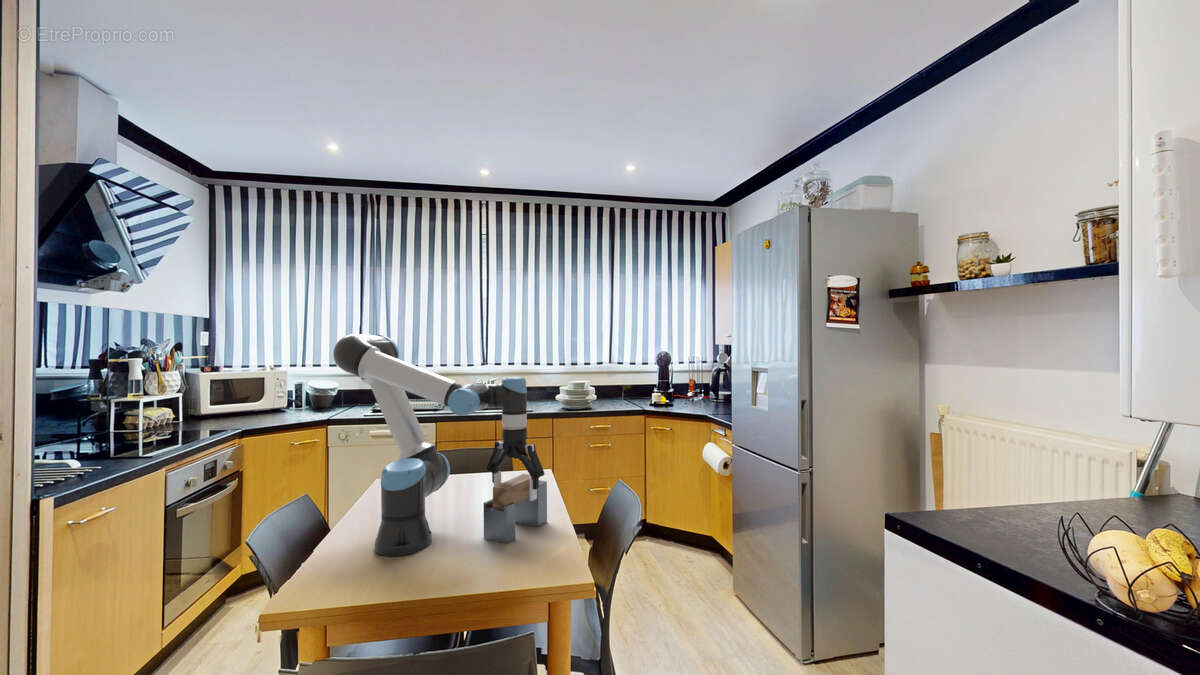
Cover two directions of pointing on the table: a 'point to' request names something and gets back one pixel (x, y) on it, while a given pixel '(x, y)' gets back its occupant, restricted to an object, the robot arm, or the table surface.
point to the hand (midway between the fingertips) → (515, 496)
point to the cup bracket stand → (515, 516)
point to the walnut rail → (511, 491)
